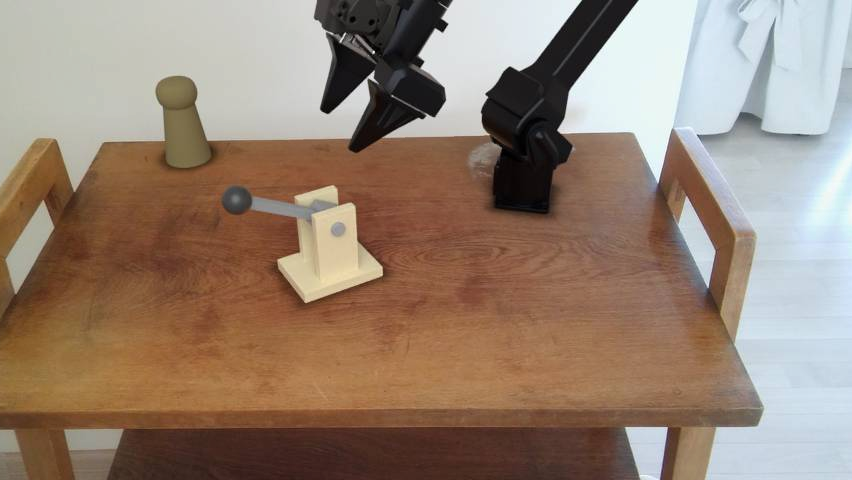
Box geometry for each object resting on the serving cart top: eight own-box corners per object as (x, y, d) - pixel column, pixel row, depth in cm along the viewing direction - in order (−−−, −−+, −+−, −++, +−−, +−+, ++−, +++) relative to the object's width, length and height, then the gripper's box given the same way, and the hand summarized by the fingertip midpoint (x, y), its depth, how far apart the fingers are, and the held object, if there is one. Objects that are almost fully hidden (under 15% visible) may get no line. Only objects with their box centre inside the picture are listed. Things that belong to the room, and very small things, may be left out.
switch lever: (223, 217, 70) (233, 190, 69) (213, 204, 72) (222, 177, 71) (338, 237, 78) (348, 212, 77) (326, 224, 80) (336, 200, 79)
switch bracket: (305, 303, 77) (297, 230, 72) (278, 268, 82) (269, 197, 77) (383, 276, 81) (381, 204, 76) (352, 244, 86) (348, 174, 81)
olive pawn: (216, 147, 106) (204, 70, 99) (204, 168, 101) (190, 89, 94) (174, 146, 106) (158, 69, 100) (159, 167, 101) (142, 88, 95)
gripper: (323, -77, 75) (247, 62, 80) (393, -24, 61) (295, 140, 66) (409, -20, 81) (333, 106, 86) (490, 40, 67) (394, 185, 72)
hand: (337, 130), depth 77 cm, fingers open, 9 cm apart
